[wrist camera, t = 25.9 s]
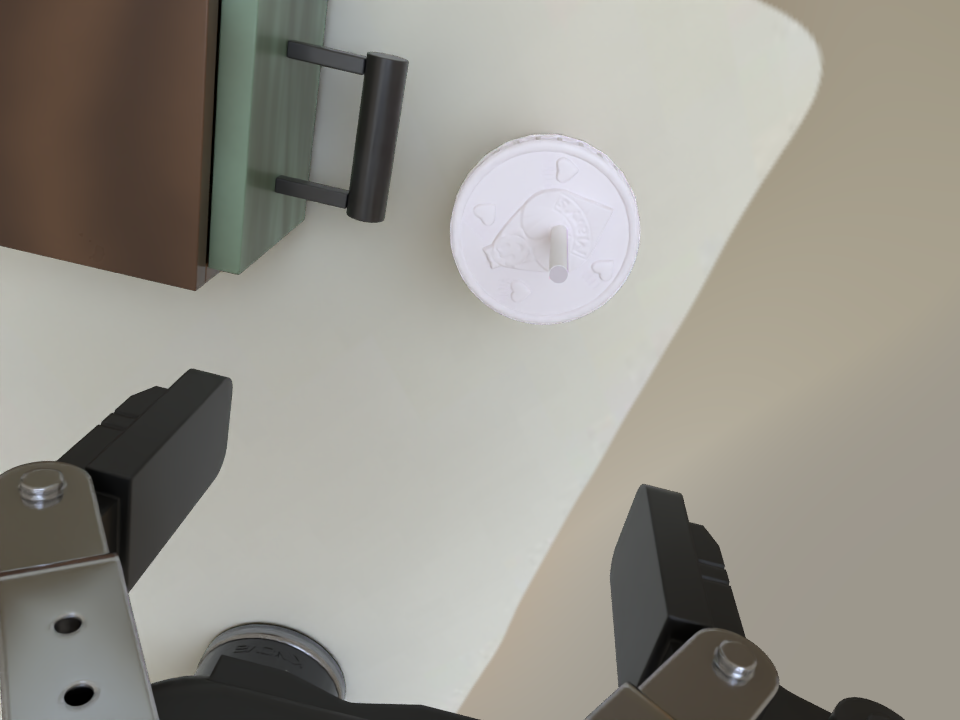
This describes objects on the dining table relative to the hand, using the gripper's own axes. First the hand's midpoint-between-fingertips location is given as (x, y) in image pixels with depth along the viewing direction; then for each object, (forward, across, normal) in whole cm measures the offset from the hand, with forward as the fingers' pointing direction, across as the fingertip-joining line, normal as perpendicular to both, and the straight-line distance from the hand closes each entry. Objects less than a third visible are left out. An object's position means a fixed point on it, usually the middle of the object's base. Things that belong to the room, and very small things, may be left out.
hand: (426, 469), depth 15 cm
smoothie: (+22, -2, -2) cm, 22 cm away
